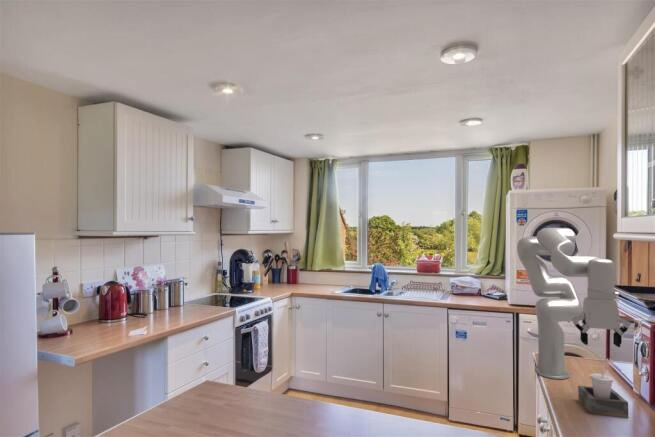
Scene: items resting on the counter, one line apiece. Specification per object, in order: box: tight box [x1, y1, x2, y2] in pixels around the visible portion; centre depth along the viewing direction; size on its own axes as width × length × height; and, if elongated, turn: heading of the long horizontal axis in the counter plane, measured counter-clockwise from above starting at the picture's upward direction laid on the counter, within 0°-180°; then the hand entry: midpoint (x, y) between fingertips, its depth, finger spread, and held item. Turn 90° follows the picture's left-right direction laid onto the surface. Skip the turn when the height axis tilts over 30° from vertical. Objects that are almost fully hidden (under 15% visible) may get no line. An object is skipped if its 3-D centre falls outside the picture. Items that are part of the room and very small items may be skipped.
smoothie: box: [589, 363, 614, 399], centre depth 130 cm, size 6×6×14 cm
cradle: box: [577, 385, 629, 419], centre depth 129 cm, size 11×11×5 cm
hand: (600, 344), depth 130 cm, fingers open, 9 cm apart
